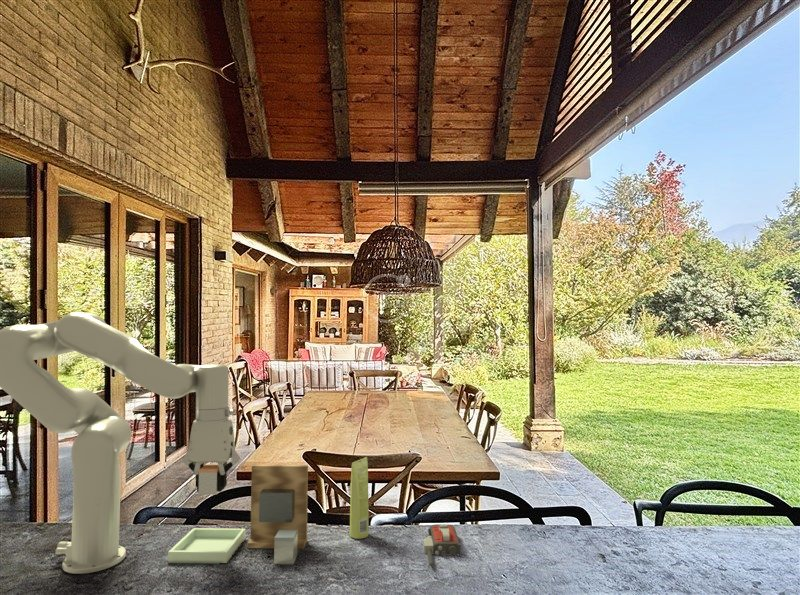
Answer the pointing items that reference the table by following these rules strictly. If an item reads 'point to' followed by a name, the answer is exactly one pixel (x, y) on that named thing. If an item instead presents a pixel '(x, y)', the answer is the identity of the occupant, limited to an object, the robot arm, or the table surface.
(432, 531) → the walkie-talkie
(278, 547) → the block
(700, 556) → the table surface
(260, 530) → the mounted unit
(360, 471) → the tube
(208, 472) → the block
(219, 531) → the tray
